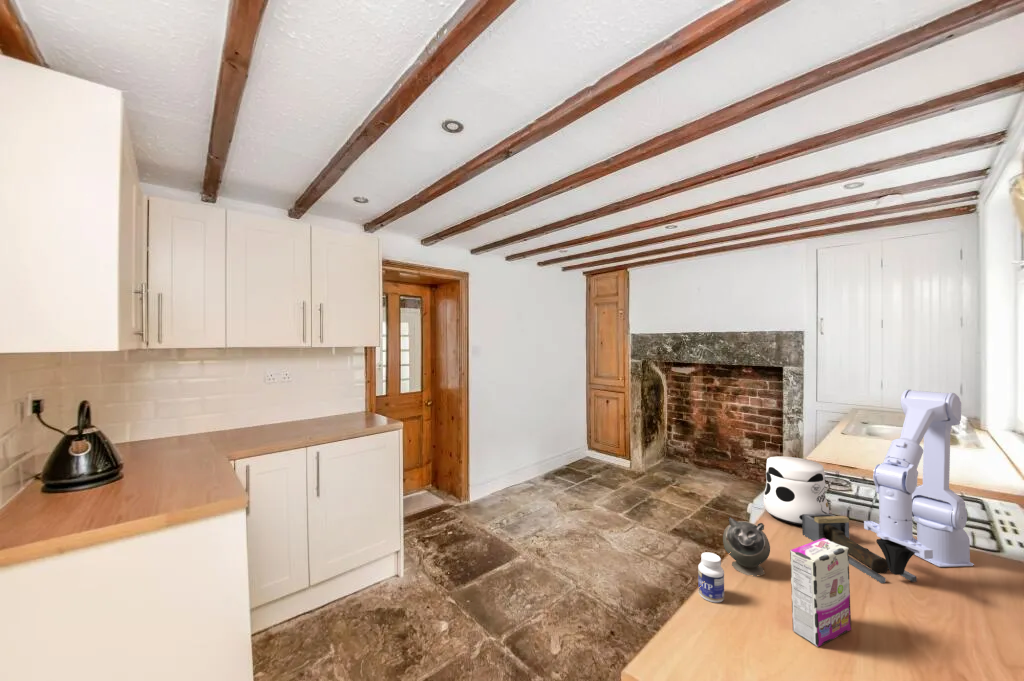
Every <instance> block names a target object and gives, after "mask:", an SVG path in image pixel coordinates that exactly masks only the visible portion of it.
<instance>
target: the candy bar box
mask: <svg viewBox="0 0 1024 681" xmlns="http://www.w3.org/2000/svg"><path fill="white" fill-rule="evenodd" d="M848 549H849V548H847V547H845V546H842V545H840V544H837V543H835V542H832V541H830V540H828V539H826V538H825V537H823V538H822V539H819V540H816V541H811V542H808V543H806V544H803V545H800V546H797V547H794V548H792V549H790V550H789V557H790V558H789V559H790V560H789V561H790V584H791V585H790V586H791V609H792V610H791V612H792V613H791V615H792V616H791V617H792V631H793V633H795V634H796V635H797V636H799V637H801V638H802V639H804V640H806V641H808V642H809V643H810V644H812V645H813V646H816V648H817V647H821V646H823V645H825V644H827V643H829V642H830V641H832V640H834V639H836V638H838V637H840V636H842V635H843V634H846V633H847V632H850V631H851V630H852V618H851V616H852V614H851V592H850V591H851V590H850V587H851V586H850V585H851V584H850V583H851V582H850V564H849V556H850V553H848Z"/></svg>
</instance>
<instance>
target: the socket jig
mask: <svg viewBox="0 0 1024 681" xmlns="http://www.w3.org/2000/svg"><path fill="white" fill-rule="evenodd" d="M828 524H829V525H832V526H834V527H836V528H838V529H839V530H841V531H842V532H844V536H846V537H848V538H849V539H850V518H849V517H847V516H846V515H835V514H833V513H831V512H829V513H828V514H802V525H801V527H802V536H804V535H805V536H804V537H805V538H807V537H808V538H807V539H809V540H810V539H811V541H812V540H813V541H812V542H814V541H816V540H819V539H822V538H824V531H823V529H824V527H825V525H828ZM871 552H872V553H874V554H875V555H877V556H879V557H881V555H879V554H876V553H875V552H873V551H871ZM849 565H851V566H853V567H854V568H856V569H857V570H859V571H860V572H862V573H863V574H865V573H866V575H867V576H868V575H869V576H868V577H870V576H871V578H872V579H873V578H874V579H873V580H875V579H876V580H877V581H876V580H875V581H876V582H878V581H879V582H878V583H880V584H886V582H887V581H886V578H887V577H884V575H881V573H877V572H875V571H873V570H872V568H870V567H868V566H867V565H865V564H864V563H863V562H861V561H858V559H857V560H856V558H854V557H853V556H852V557H851V556H850V555H849ZM902 576H903V577H902ZM900 577H902V578H904V577H905V578H904V579H906V580H908V581H909V580H910V581H909V582H911V583H915V582H918V581H917V578H918V577H917V576H916V575H914V574H912V573H911V572H909V571H907V570H906V569H905V570H904V573H903V575H900Z"/></svg>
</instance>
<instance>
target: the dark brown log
mask: <svg viewBox="0 0 1024 681" xmlns="http://www.w3.org/2000/svg"><path fill="white" fill-rule="evenodd" d="M823 531H824V536H823V538H824V539H828V540H830V541H832V542H835V543H837V544H840V545H842V546H845V547H847V548H849V549H848V554H849V555H851V556H852V557H853V558H854V559H857V561H858V560H859V562H860V563H862V564H863V565H865V566H867V567H868V568H870V569H872V570H873V571H875V572H877V573H878V574H887V572H888V570H889V569H888V564H887V561H886V559H885V557H881V556H880V555H878V554H876V553H875V552H873V551H871V550H869V548H867V547H863V545H860V544H859V543H858V542H855V541H854V540H852V539H851V538H850V537H849V538H848V537H846V536H844V532H842V531H841V530H839V529H838V528H836V527H834V526H832V525H829V524H828V525H825V527H824V529H823ZM872 552H873V553H872ZM874 553H875V554H876V555H875V554H874ZM877 555H878V556H877ZM879 556H880V557H879Z"/></svg>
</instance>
